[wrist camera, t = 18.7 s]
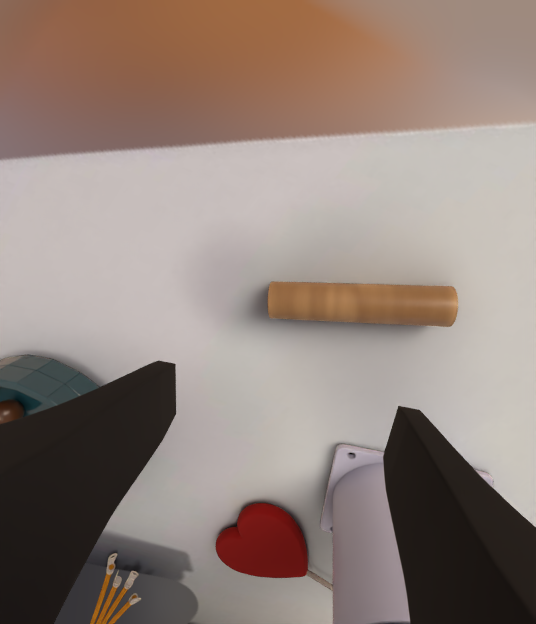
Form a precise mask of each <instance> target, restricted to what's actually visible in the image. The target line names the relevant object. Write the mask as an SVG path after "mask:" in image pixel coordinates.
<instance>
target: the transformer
mask: <svg viewBox="0 0 536 624" xmlns="http://www.w3.org/2000/svg"><path fill="white" fill-rule="evenodd" d="M114 555H115V556H114ZM112 556H114V557H113V558H111V557H112ZM116 557H117V553H114V554H112V555H111V556H110V557H109V558H108V565H107V570H106V572H107V574H106V577H105V580H104V583H103V586H102V589H101V593H100V596H99V599H98V602H97V605H96V608H95V611H94V614H93V617H92V620H91V622H90V624H94V623H95V620H96V618H97V616H98V613H99V610H100V607H101V604H102V601H103V599H104V596H105V593H106V589H107V586H108V583H109V580H110V577H111V574H112V573H113V572H114V569H115V564H114V561H115V559H116ZM118 572H119V570H118ZM118 572H117V574H118ZM133 573H135V574H136V575H134V574H133ZM117 574H116V577H115V579H114V582H113V587H112V589H111V591H110V593H109V596H108V598H107V600H106V602H105V604H104V607H103V609H102V611H101V613H100V616H99V618H98V620H97V622H96V624H106V623H107V621H108V620H109V618H110V616H111V615H112V613H113V612H114V610H115V609H116V607H117V605H118V604H119V602H120V601H121V599H122V598H123V596H124V595H125V593H126V592H127V590H128V589H129V588H131V586H132V585H133V582H134V579H135V578H136V577H138V575H139V574H138V573H137V572H135V571H131V573H130V575H129V577H128V579H127V581H126V582H125V584H124V587H123V589H122V591H121V592H120V594H119V595H118V597H117V598H116V600H115V601H114V603H113V605H112V606H111V608H110V609H109V611H108V613H107V614H106V616H105V613H106V612H107V609H108V607H109V605H110V603H111V601H112V598H113V596H114V594H115V592H116V590H117V588H118V587H119V586H120V584H121V581H122V578H121V577H120V576H117ZM140 600H141V598H138V595H137V594H136V593H134V594H132V595H131V596H130V598H129V601H128V602H127V603H126V604H125V605H124V606H123V607H122V608H121V609H120V611H119V612H118V613H117V614H116V615H115V616H114V617H113V618H112V620H111V621H110V622H109V623H108V624H114V623H115V622H116V621H117V620H118V618H119V617H120V616H121V615H122V614H123V613H124V612H125V611H126V610H127V609H128V608H129V607H130V606H131V605H133V604H134V603H136V602H138V601H140ZM104 616H105V618H104ZM103 618H104V619H103ZM102 620H103V621H102ZM101 622H102V623H101Z"/></svg>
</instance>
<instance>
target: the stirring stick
mask: <svg viewBox="0 0 536 624" xmlns="http://www.w3.org/2000/svg"><path fill="white" fill-rule="evenodd" d="M457 311H458V297H457V293H456V290H455V288H454V287H452V286H420V285H384V284H347V283H311V282H275V281H272V282H271V283H270V286H269V291H268V314H269V317H270V318H274V319H295V320H316V321H336V322H357V323H378V324H399V325H420V326H441V327H450V326H452V325H453V324H454V322H455V319H456V316H457Z"/></svg>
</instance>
